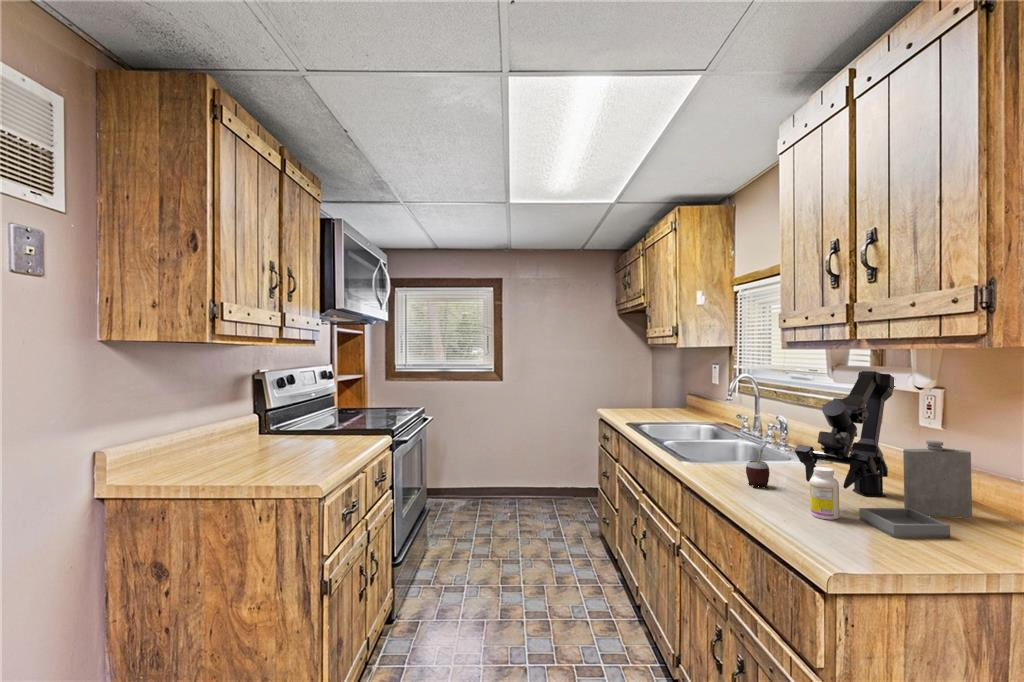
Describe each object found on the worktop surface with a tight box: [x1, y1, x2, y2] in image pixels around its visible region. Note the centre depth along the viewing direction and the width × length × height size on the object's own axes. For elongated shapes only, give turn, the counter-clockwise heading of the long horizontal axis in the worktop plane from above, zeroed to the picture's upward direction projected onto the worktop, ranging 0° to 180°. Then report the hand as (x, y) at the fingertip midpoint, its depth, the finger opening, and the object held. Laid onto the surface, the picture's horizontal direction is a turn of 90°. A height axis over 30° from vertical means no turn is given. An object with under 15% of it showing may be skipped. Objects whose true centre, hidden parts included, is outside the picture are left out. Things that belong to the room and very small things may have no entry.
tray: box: [858, 507, 951, 539], centre depth 128 cm, size 13×13×3 cm
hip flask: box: [902, 439, 973, 519], centre depth 138 cm, size 16×4×20 cm, turn 82°
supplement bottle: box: [809, 466, 840, 521], centre depth 138 cm, size 7×7×13 cm
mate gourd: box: [745, 443, 770, 489], centre depth 167 cm, size 8×8×15 cm
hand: (825, 484), depth 139 cm, fingers open, 9 cm apart
